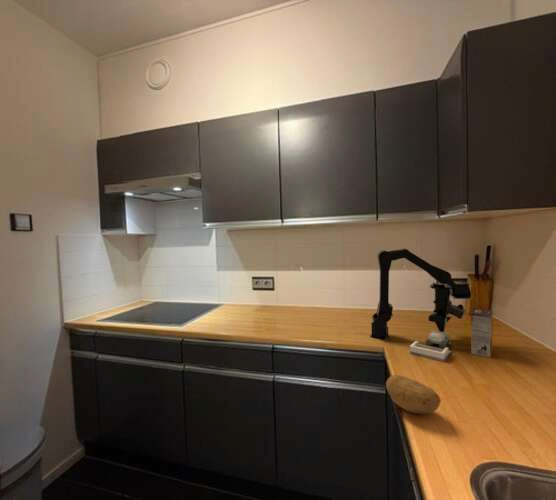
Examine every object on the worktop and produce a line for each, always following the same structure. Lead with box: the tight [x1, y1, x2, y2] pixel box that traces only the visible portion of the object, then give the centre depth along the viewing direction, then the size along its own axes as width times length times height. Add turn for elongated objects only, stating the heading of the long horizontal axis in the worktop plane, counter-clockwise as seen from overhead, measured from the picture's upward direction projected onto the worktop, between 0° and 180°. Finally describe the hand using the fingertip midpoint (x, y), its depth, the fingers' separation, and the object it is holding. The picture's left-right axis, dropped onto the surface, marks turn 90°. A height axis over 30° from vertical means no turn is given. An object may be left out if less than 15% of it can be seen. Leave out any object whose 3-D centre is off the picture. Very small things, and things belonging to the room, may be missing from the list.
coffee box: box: [470, 307, 493, 358], centre depth 114 cm, size 9×6×16 cm
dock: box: [409, 340, 452, 363], centre depth 115 cm, size 12×11×3 cm
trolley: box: [424, 329, 451, 349], centre depth 122 cm, size 8×8×5 cm
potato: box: [385, 374, 442, 415], centre depth 79 cm, size 10×14×8 cm
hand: (442, 333), depth 128 cm, fingers closed
